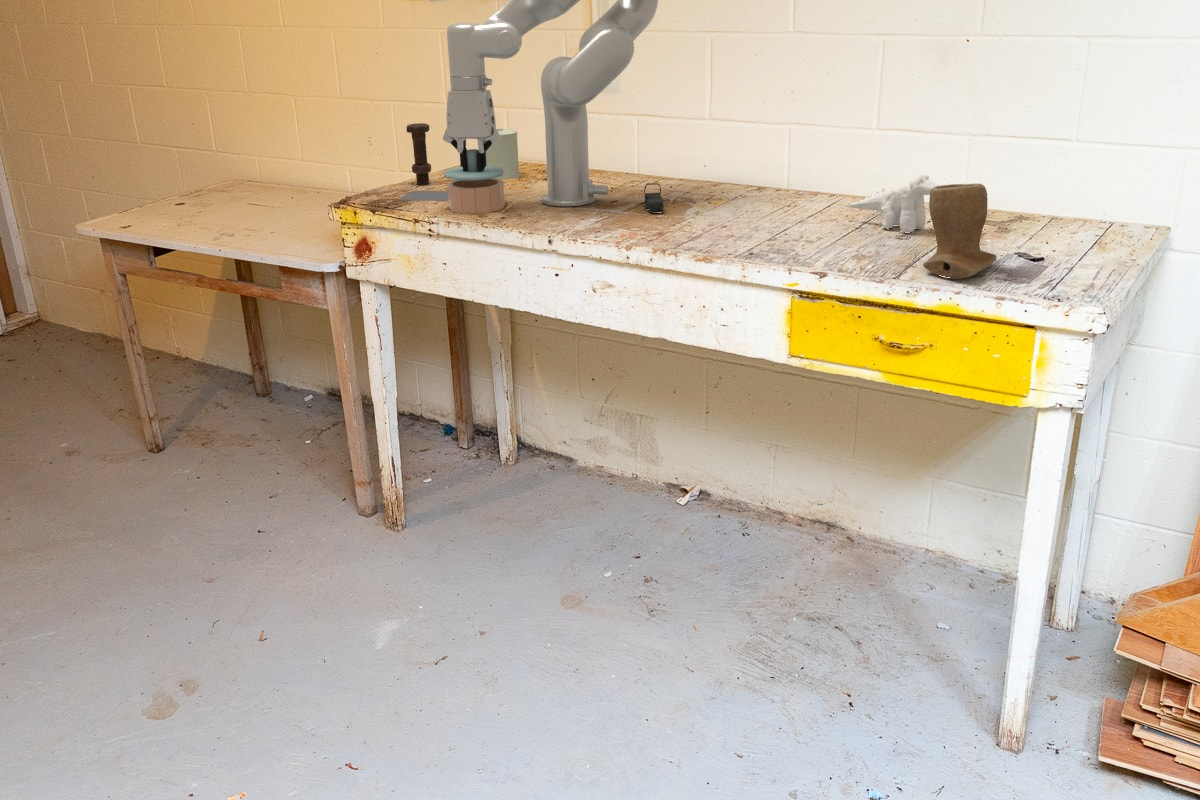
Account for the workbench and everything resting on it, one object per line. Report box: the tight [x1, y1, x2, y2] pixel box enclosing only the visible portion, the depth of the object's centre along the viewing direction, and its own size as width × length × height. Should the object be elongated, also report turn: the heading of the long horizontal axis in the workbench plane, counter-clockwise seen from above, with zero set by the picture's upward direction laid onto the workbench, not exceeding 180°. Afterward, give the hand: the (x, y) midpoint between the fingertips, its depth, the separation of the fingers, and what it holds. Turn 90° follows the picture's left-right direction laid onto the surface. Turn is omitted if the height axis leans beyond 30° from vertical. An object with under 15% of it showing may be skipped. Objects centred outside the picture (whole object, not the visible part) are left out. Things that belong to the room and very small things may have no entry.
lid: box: [443, 148, 503, 181], centre depth 230 cm, size 13×13×5 cm
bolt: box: [405, 122, 432, 186], centre depth 257 cm, size 6×5×15 cm
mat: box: [397, 190, 449, 202], centre depth 247 cm, size 12×10×1 cm
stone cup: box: [922, 183, 997, 280], centre depth 180 cm, size 15×12×15 cm
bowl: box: [446, 178, 506, 215], centre depth 234 cm, size 12×12×6 cm
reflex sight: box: [642, 182, 664, 213], centre depth 230 cm, size 4×10×5 cm, turn 2°
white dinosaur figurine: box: [844, 174, 940, 233], centre depth 208 cm, size 7×24×11 cm, turn 45°
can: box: [486, 128, 521, 180], centre depth 266 cm, size 9×9×12 cm
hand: (473, 169), depth 231 cm, fingers closed on lid, 2 cm apart
